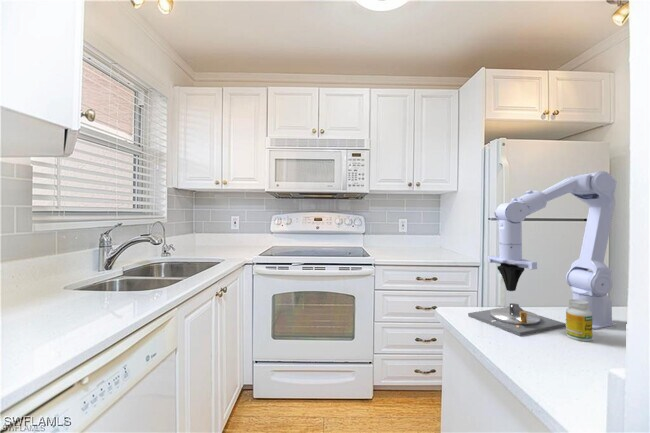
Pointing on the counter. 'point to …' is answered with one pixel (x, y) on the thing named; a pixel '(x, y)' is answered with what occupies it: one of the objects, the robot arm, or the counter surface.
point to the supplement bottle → (579, 320)
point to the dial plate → (518, 329)
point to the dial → (515, 315)
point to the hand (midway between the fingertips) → (511, 290)
